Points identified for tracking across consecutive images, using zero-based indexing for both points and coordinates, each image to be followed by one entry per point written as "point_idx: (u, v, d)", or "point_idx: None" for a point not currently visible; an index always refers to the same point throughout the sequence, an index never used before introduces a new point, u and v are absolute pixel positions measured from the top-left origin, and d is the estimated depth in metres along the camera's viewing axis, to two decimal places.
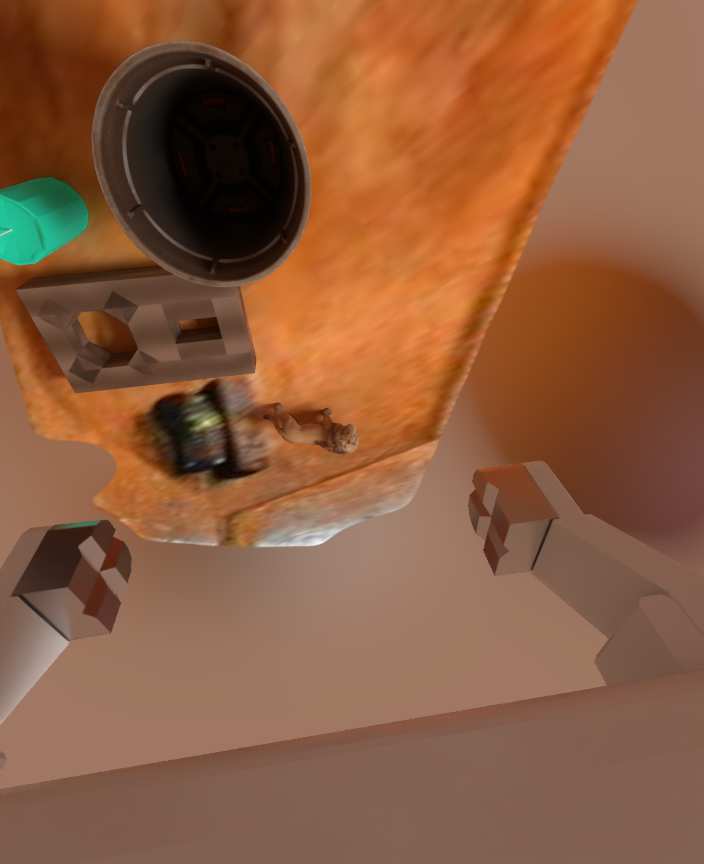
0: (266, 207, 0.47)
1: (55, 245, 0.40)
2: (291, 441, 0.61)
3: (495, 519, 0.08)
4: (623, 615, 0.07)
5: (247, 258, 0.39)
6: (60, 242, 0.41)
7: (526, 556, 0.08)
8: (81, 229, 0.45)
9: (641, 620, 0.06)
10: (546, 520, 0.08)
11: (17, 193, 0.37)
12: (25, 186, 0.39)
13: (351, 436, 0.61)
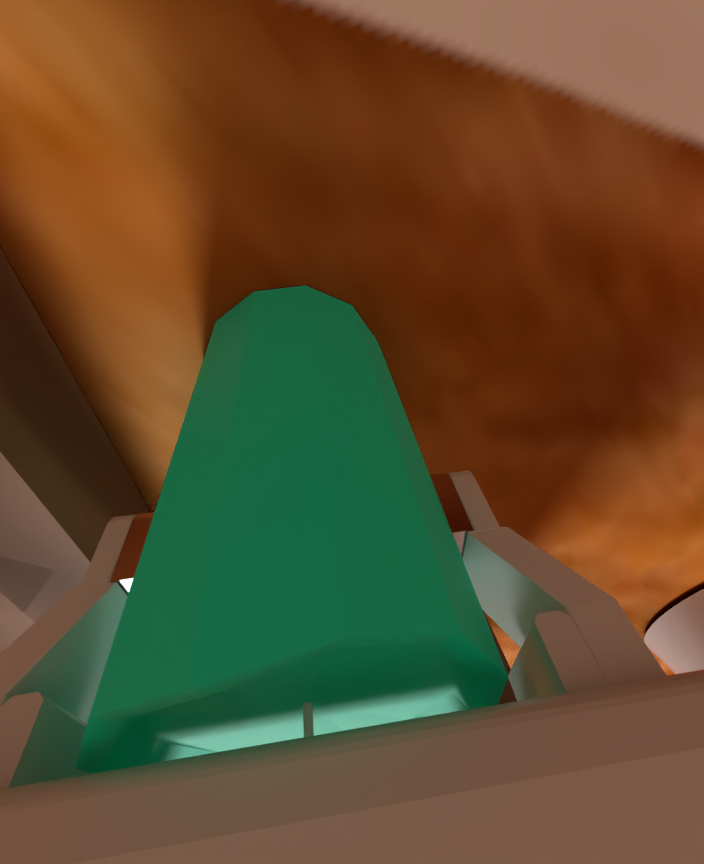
0: None
1: None
2: None
3: None
4: None
5: None
6: None
7: None
8: None
9: (536, 637, 0.06)
10: (461, 532, 0.08)
11: None
12: None
13: None
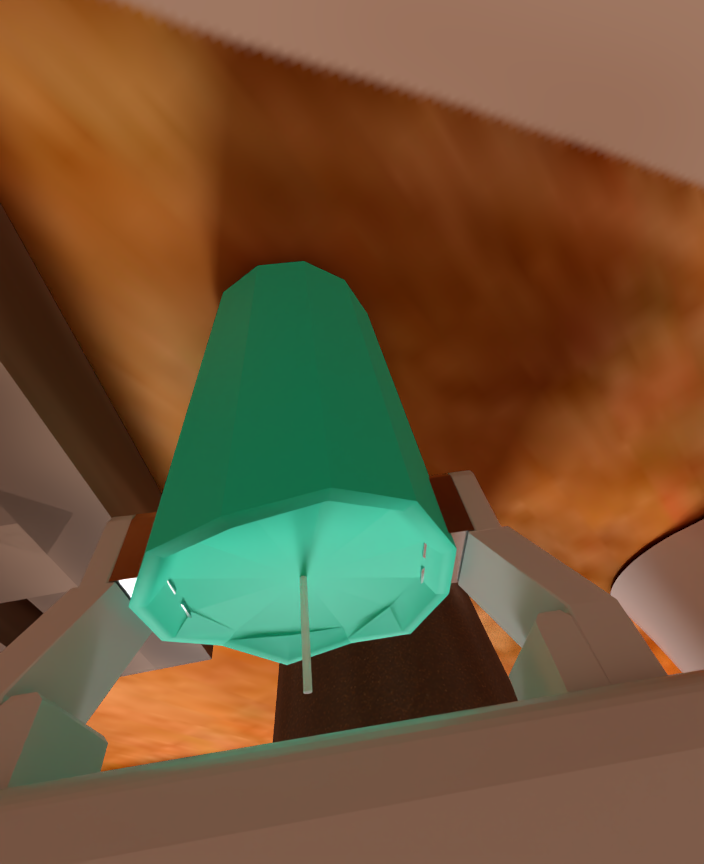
0: None
1: None
2: None
3: None
4: None
5: None
6: None
7: None
8: None
9: (537, 636, 0.06)
10: (462, 532, 0.08)
11: None
12: None
13: None
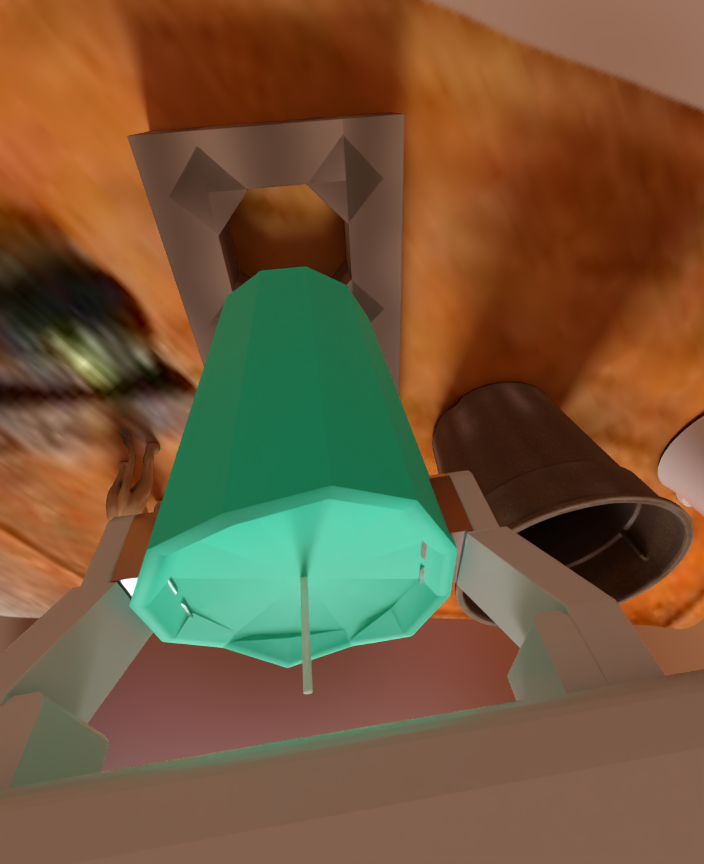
0: None
1: None
2: (113, 517, 0.34)
3: None
4: None
5: None
6: None
7: None
8: None
9: (535, 637, 0.06)
10: (460, 532, 0.08)
11: None
12: None
13: None
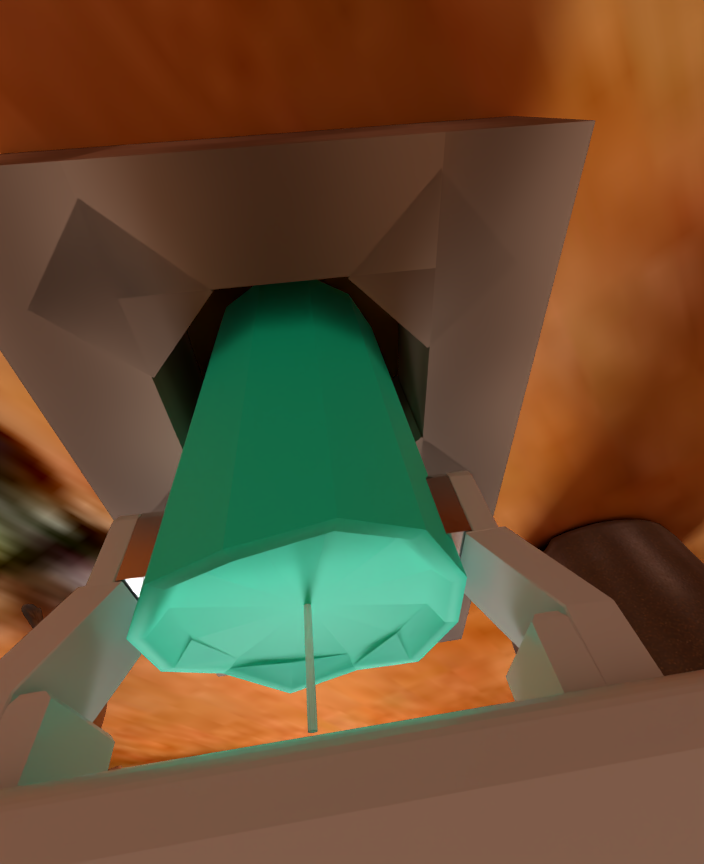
0: None
1: None
2: None
3: None
4: None
5: None
6: None
7: None
8: None
9: (534, 637, 0.06)
10: (459, 532, 0.08)
11: None
12: None
13: None
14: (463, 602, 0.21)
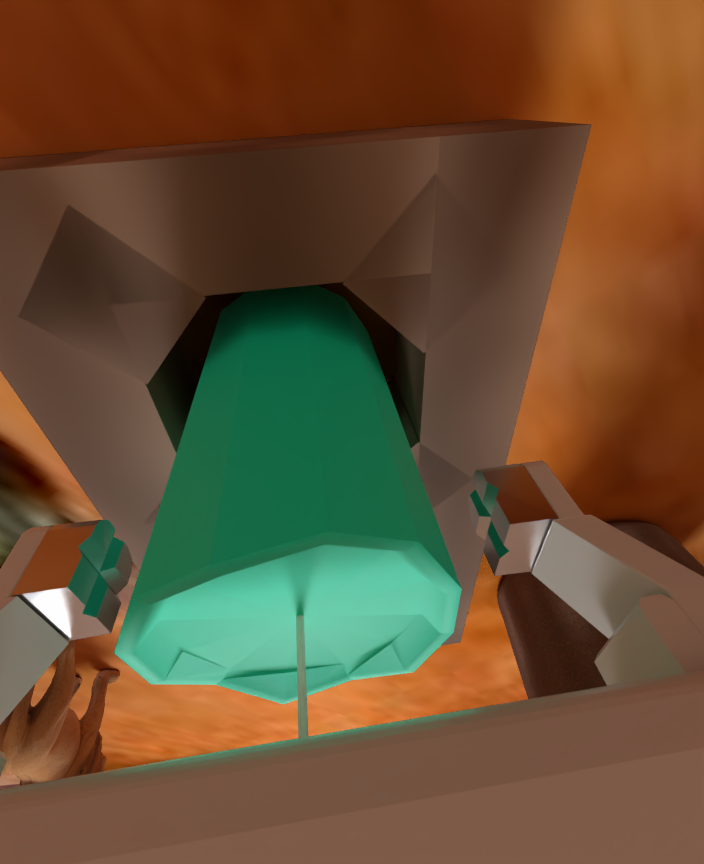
0: None
1: None
2: None
3: (495, 519, 0.08)
4: (623, 615, 0.07)
5: None
6: None
7: (526, 556, 0.08)
8: None
9: (641, 620, 0.06)
10: (546, 520, 0.08)
11: None
12: None
13: None
14: (462, 606, 0.21)
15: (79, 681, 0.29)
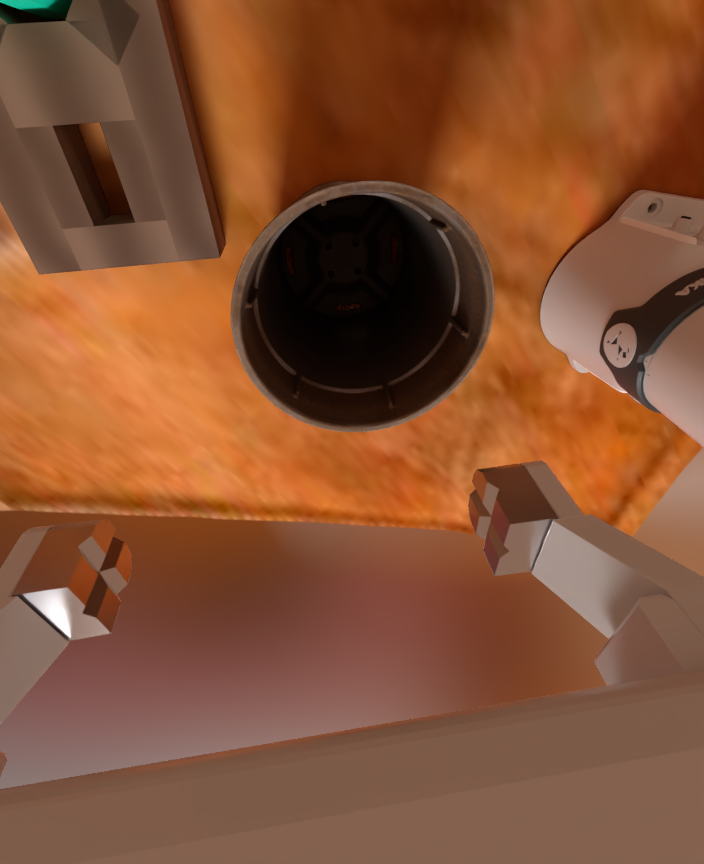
0: (295, 298, 0.39)
1: None
2: None
3: (495, 518, 0.08)
4: (623, 615, 0.07)
5: (262, 334, 0.29)
6: None
7: (526, 556, 0.08)
8: None
9: (641, 620, 0.06)
10: (546, 520, 0.08)
11: None
12: None
13: None
14: (199, 197, 0.30)
15: None
